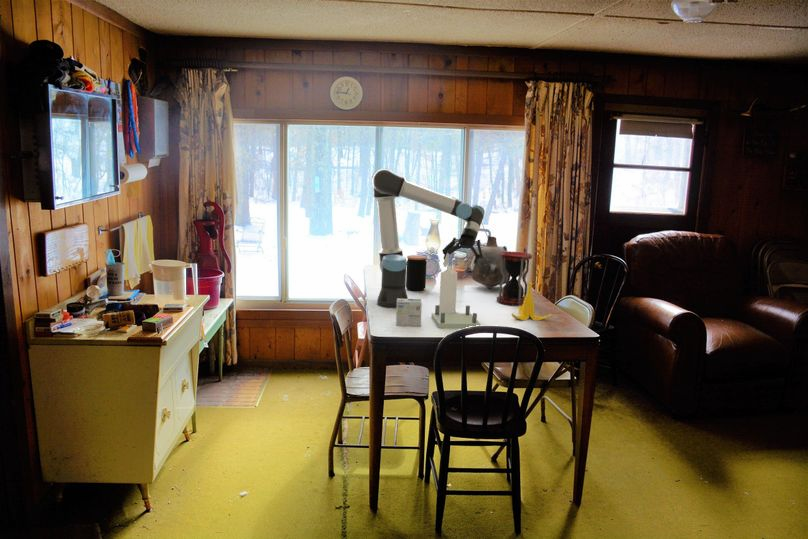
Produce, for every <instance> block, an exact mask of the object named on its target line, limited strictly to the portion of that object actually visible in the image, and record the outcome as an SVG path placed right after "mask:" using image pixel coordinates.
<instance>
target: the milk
mask: <svg viewBox="0 0 808 539" xmlns="http://www.w3.org/2000/svg"><path fill="white" fill-rule="evenodd" d="M439 281H440V282H439V284H440V286H439V300H438V302H439V304H438V305H439V306H440V307H439V313H456V305H457V304H456V303H457V291H458V290H457V289H458V271H456V270H455V269H454V268H453V265H449V266H446V270H444V271H442V272H440V280H439Z"/></svg>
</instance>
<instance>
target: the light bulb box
mask: <svg viewBox="0 0 808 539" xmlns="http://www.w3.org/2000/svg"><path fill="white" fill-rule="evenodd" d="M422 306H423V305H422V299H421V298H408V299H399V298H397V308H396V311H395V312H396V316H395V317H396V319H395V320H396V321H395V322H396V323H395V325H396V327H397V326H399V327H401V326H402V327H422V326H421V325H422Z"/></svg>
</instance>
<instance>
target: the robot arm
mask: <svg viewBox="0 0 808 539" xmlns="http://www.w3.org/2000/svg"><path fill="white" fill-rule="evenodd" d="M371 184H372V192H373V198H374V199H375V200H376V202H377V212H378V223H379V233H380V235H379V236H380V244H381V249H380V250H379V251H378V255H379V268H380V271H381V287H380V290H379V294H378V296H377V301H376V302H377V303H376V305H378V306H380V307H385V308H397V298H399V299H409V297H408V294H407V290H406V289H407V288H406V270H407V257H405V256H404V255H403V254H404V253H403V249H402V248H401V247H400V245H399V243H400V242H399V232H398V231H399V230H398V224H397V223H398V222H397V212H396V198H400V197H402V198H405V199H407V200H410V201H413V202H415V203H419V204H420V205H421V204H422V205H424V206H427V207H430V208H433V209H436V210H438V211H441V212H443V213H446V214H449V215H452V216H454V217H457V218H459V219H461V220H463V221H465V222H464V226H463V228H462V231H461V234H460V237H459V238H456V237H453V239H452V240H451V241H450V242H449V243H448V244H447V245H446V246H445V247H444V248H443V249H442V250H441V251H442V253H443V260H444V261H443V262H442V263H443V267H444V268H447V264H448V262H449V260H450V255H452V254H453V253H455V252H456V251H458V250H460V249H467V250H468V249H470V250H471V251H472V253H473V257H472V260H471V263H470V265H469V268H470V271H472V270H473V268H474V265H475V264H477V262H478V259H479V258H483V255H482V251H481V248H482V247H481V245H482V242H481V240H480V239H477V237H478V235H479V234H478V233H479V231H480V228H481V225H482V223H483V220H484V217H485V214H486V213H485V211H486V210H485V209H484V207H483V206H481V205H477V204H474V205H472V206H471V205H470V204H469V203H467V202H464V201H462V200H460V199H458V198H456V197H454V196H452V197H451V196H449V195H448V196H447V195H445V194H443V193H439V192H436V191H434V190H432V189H429V188H427V187H424V186H421V185H418V184H415V183H414V182H413V183H412V182H410V181H407V180H406V178H405V177H402V176H400V175H398V174H396V173H394V172H393V171H392V170H390V169H389V168H380V169H378V170H376V171H374V173H373V174H372V176H371ZM475 245H476V247H477V250H478V251H479V254H477V252H478V251H477V250H476V249H475V247H474V246H475Z"/></svg>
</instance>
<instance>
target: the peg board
mask: <svg viewBox="0 0 808 539" xmlns="http://www.w3.org/2000/svg"><path fill="white" fill-rule="evenodd" d="M439 307H440V306H439V304H436V305H435V309H434V310H435V311H434V312H431V319H432V321H433V322H434V324H435V325H436V327H437V328H438V329H466V328H465V327H469V326H476V325H480V326H481V322H479V321H478V313H477V312H473V313H470V311H471V306H470V305H465V313H456V312H454V313H439Z"/></svg>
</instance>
